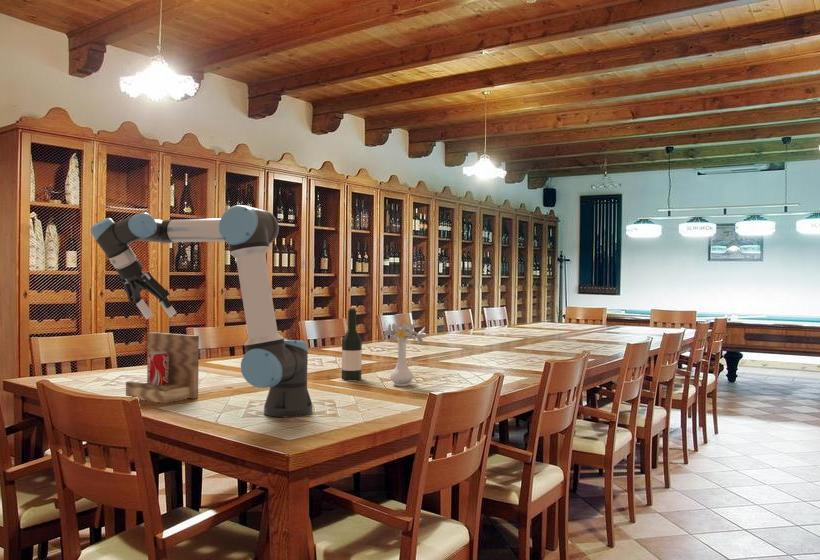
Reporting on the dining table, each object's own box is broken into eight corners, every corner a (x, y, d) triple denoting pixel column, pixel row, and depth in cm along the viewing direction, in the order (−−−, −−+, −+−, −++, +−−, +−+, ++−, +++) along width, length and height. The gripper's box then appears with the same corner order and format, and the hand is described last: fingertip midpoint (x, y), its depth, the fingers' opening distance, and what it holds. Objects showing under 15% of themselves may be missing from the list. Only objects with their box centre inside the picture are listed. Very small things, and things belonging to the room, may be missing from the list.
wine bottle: (365, 378, 271) (366, 308, 271) (353, 381, 264) (354, 309, 264) (349, 377, 275) (350, 307, 275) (337, 379, 268) (338, 308, 268)
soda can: (161, 388, 220) (161, 353, 220) (142, 387, 221) (143, 353, 221) (172, 385, 227) (173, 351, 227) (154, 384, 228) (155, 350, 228)
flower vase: (430, 385, 257) (431, 323, 257) (392, 389, 246) (393, 324, 246) (411, 380, 267) (412, 321, 267) (374, 384, 257) (375, 322, 257)
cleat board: (198, 398, 224) (198, 335, 224) (169, 404, 213) (169, 338, 213) (151, 391, 236) (152, 332, 235) (122, 397, 225) (122, 334, 225)
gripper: (97, 273, 212) (132, 324, 221) (139, 266, 198) (175, 321, 207) (114, 261, 218) (148, 311, 226) (156, 253, 203) (191, 307, 212)
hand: (161, 316), depth 217 cm, fingers open, 13 cm apart
